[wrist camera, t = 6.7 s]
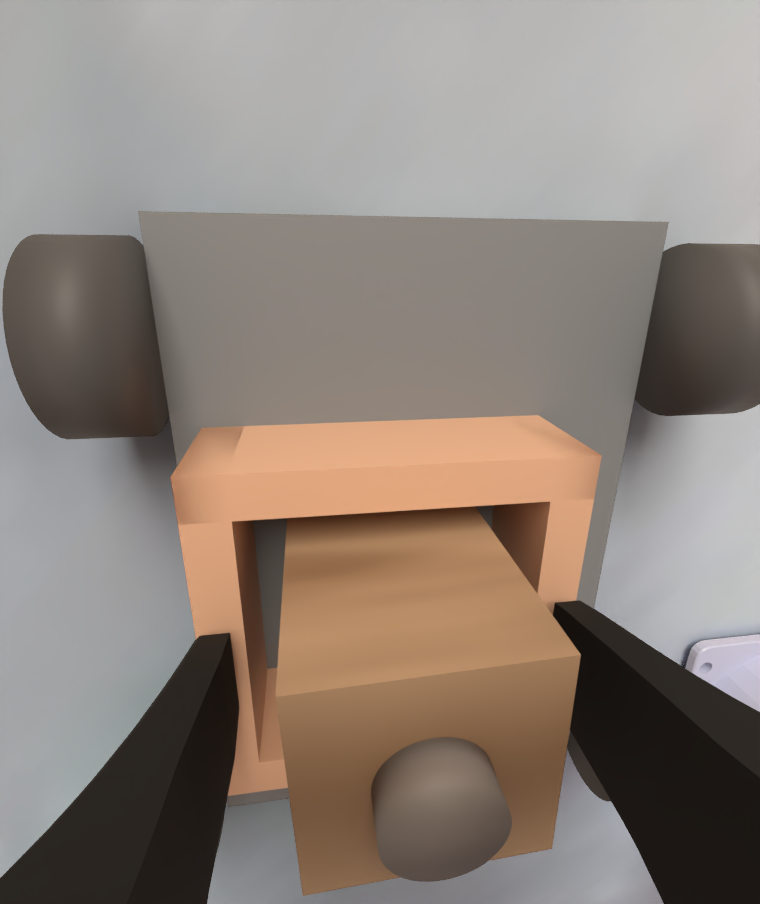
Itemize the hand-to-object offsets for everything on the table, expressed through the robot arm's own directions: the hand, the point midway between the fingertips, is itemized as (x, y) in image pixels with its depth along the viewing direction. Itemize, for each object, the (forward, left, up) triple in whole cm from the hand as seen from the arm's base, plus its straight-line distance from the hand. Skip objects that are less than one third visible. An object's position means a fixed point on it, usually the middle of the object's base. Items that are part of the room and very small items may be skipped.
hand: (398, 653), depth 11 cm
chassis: (0, -1, -5) cm, 5 cm away
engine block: (0, 0, -3) cm, 3 cm away
